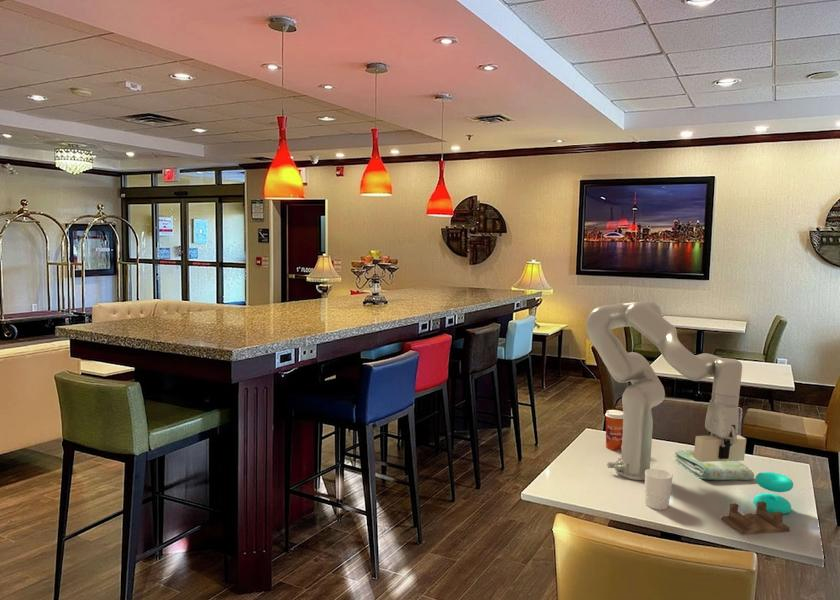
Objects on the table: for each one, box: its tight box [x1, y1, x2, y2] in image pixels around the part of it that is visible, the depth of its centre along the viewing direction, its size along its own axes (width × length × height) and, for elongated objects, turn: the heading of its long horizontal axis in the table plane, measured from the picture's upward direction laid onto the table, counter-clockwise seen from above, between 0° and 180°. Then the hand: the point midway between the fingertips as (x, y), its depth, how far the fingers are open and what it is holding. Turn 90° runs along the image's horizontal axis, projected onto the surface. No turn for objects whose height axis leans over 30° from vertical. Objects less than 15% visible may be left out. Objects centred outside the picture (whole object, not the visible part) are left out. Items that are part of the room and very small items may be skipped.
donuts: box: [753, 471, 794, 515], centre depth 191 cm, size 10×10×10 cm
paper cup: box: [605, 409, 623, 451], centre depth 241 cm, size 8×8×14 cm
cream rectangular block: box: [693, 434, 747, 462], centre depth 196 cm, size 15×4×7 cm, turn 100°
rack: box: [720, 502, 791, 535], centre depth 180 cm, size 15×9×5 cm, turn 100°
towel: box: [674, 448, 755, 481], centre depth 221 cm, size 18×21×5 cm
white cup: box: [644, 468, 674, 511], centre depth 191 cm, size 8×8×10 cm
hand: (719, 455), depth 197 cm, fingers closed on cream rectangular block, 3 cm apart
